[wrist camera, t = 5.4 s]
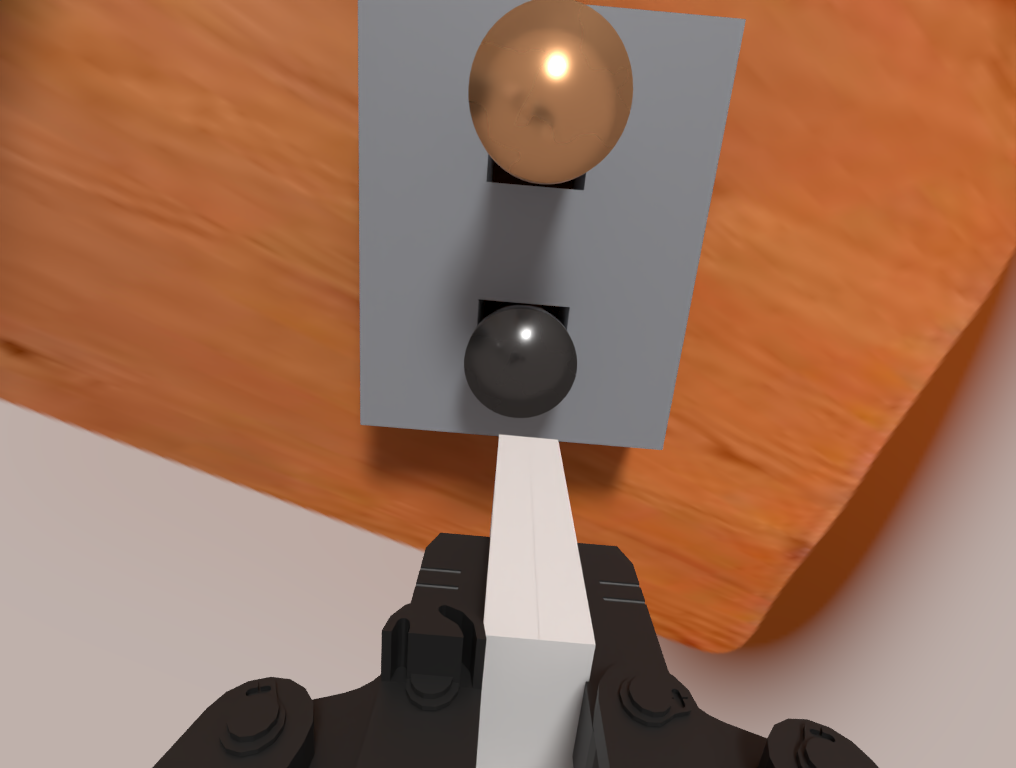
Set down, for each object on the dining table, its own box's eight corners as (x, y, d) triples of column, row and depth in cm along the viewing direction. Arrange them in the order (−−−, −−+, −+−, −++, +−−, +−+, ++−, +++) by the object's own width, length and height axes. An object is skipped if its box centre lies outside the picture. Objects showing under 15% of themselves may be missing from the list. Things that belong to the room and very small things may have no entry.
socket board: (385, 391, 36) (360, 424, 31) (388, 28, 29) (357, -17, 24) (639, 413, 36) (662, 449, 31) (701, 57, 30) (745, 19, 24)
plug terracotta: (481, 188, 27) (463, 175, 18) (488, 67, 25) (473, -11, 17) (587, 197, 27) (620, 189, 18) (601, 77, 25) (645, 5, 17)
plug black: (475, 364, 35) (460, 413, 26) (480, 281, 33) (467, 304, 25) (557, 371, 35) (570, 422, 26) (566, 288, 33) (584, 314, 25)
